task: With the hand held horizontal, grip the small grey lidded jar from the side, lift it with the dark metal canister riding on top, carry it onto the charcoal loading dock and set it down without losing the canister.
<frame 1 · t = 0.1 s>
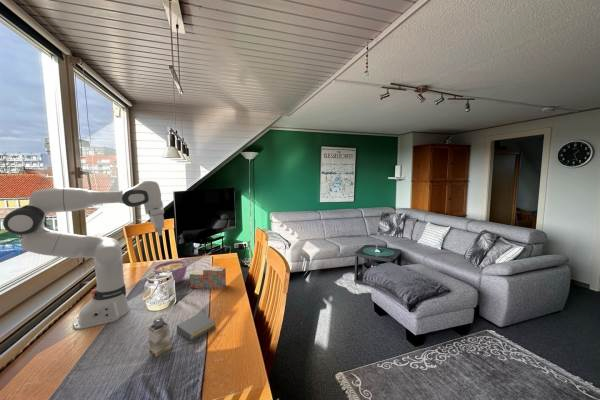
hand: (159, 233, 139), 39 cm above the table, tool pointing down, fingers open, 8 cm apart
small grey lidded jar: (160, 349, 101), on the table, touching metal canister
loading dock: (196, 329, 114), on the table
metal canister: (158, 327, 100), point 9 cm above the table, touching small grey lidded jar
stack of blocks: (208, 286, 159), on the table
bowl of food: (171, 282, 165), on the table
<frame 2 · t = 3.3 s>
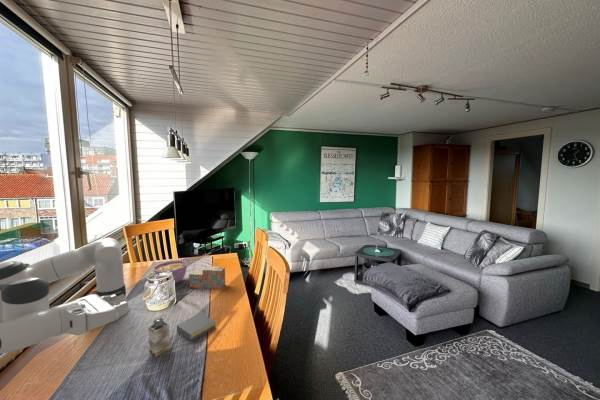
hand: (121, 300, 89), 26 cm above the table, tool horizontal, fingers open, 8 cm apart
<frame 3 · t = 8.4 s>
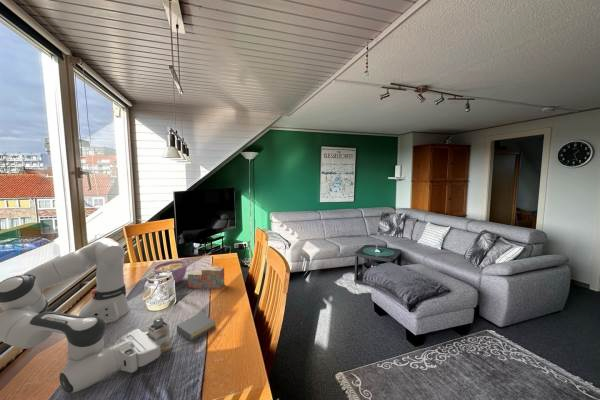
hand: (161, 334, 101), 6 cm above the table, tool horizontal, fingers closed on small grey lidded jar, 6 cm apart
small grey lidded jar: (160, 349, 101), on the table, touching gripper, metal canister
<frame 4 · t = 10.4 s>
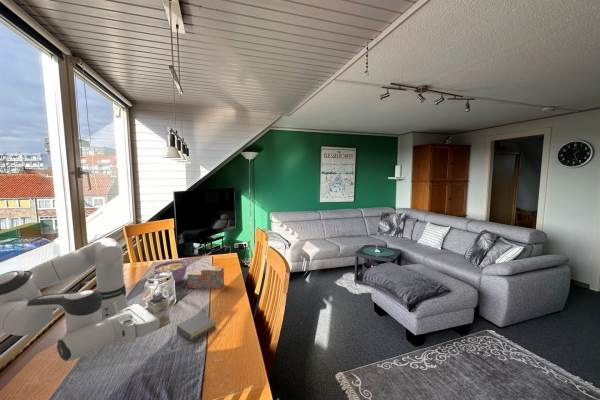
hand: (160, 309, 100), 17 cm above the table, tool horizontal, fingers closed on small grey lidded jar, 6 cm apart
small grey lidded jar: (159, 324, 100), point 11 cm above the table, touching gripper, metal canister
metal canister: (158, 302, 99), point 20 cm above the table, touching small grey lidded jar
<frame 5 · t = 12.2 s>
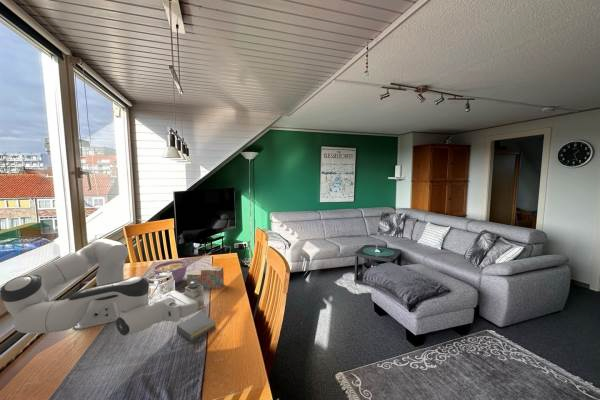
hand: (196, 295, 113), 16 cm above the table, tool horizontal, fingers closed on small grey lidded jar, 6 cm apart
small grey lidded jar: (195, 308, 113), point 10 cm above the table, touching gripper, metal canister
metal canister: (194, 288, 112), point 20 cm above the table, touching small grey lidded jar
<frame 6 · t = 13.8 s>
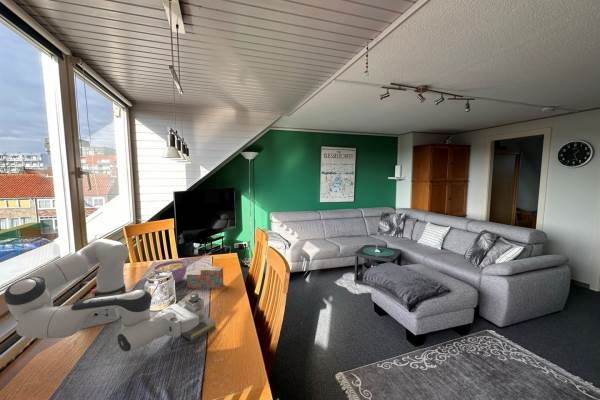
hand: (196, 308, 114), 10 cm above the table, tool horizontal, fingers closed on small grey lidded jar, 5 cm apart
small grey lidded jar: (195, 321, 114), point 4 cm above the table, touching gripper, metal canister
metal canister: (194, 302, 113), point 13 cm above the table, touching small grey lidded jar
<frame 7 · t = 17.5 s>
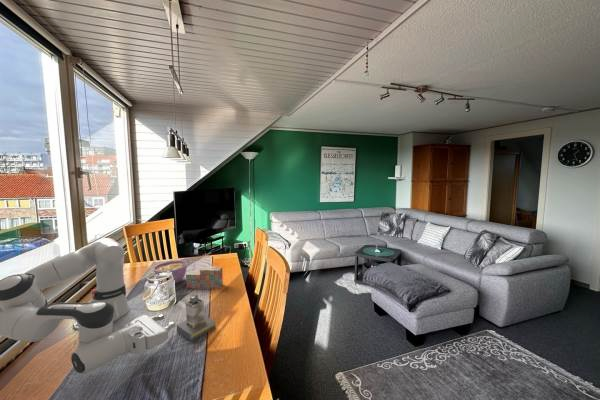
hand: (168, 320, 103), 11 cm above the table, tool horizontal, fingers open, 8 cm apart
small grey lidded jar: (195, 323, 114), point 3 cm above the table, touching loading dock, metal canister
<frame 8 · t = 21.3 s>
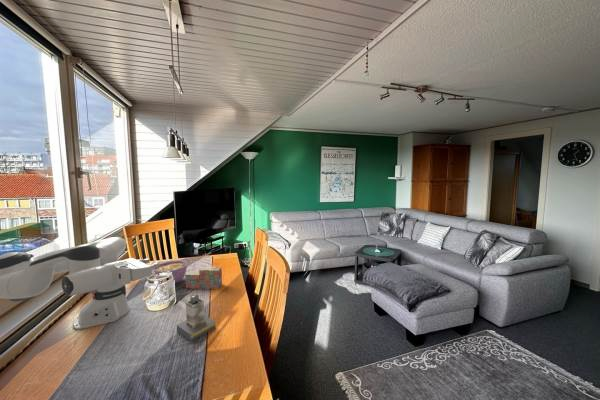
hand: (153, 262, 112), 32 cm above the table, tool horizontal, fingers open, 8 cm apart
at the end: small grey lidded jar inside the target area on the loading dock (0.0 cm from its centre), point 3.0 cm above the loading dock's base; metal canister 0.0 cm off-centre on the small grey lidded jar, point 9.7 cm above the small grey lidded jar's base; small grey lidded jar tilted 0° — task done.
